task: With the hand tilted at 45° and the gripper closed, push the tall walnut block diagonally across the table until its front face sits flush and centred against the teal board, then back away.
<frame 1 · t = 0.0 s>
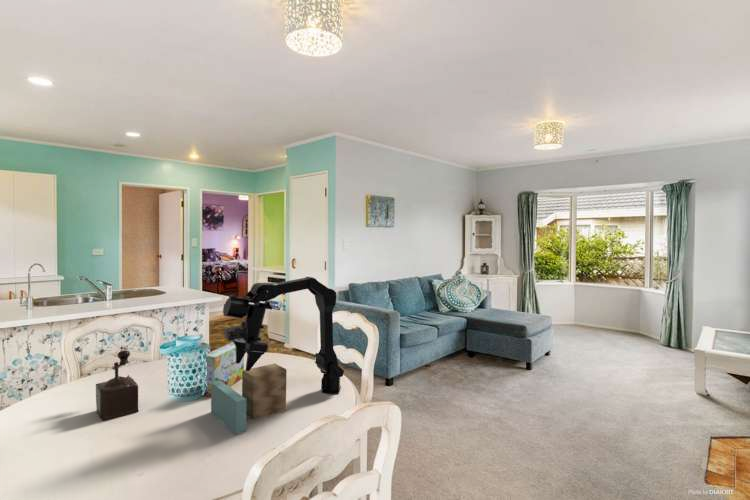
hand: (242, 367, 135), 15 cm above the table, tool pointing down, fingers open, 9 cm apart
pepper mill: (116, 409, 137), on the table
snack box: (224, 387, 159), on the table
teal board: (227, 421, 130), on the table
walnut block: (264, 410, 138), on the table
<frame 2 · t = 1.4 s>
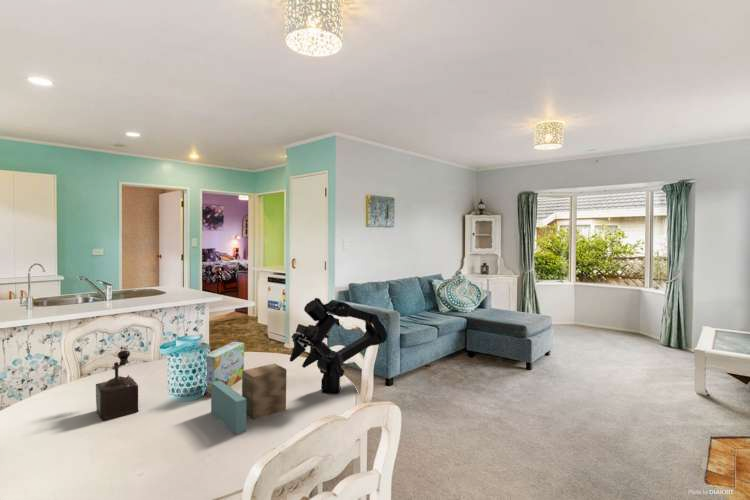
hand: (296, 364, 146), 13 cm above the table, tool tilted 45°, fingers open, 8 cm apart
nothing on the table moved.
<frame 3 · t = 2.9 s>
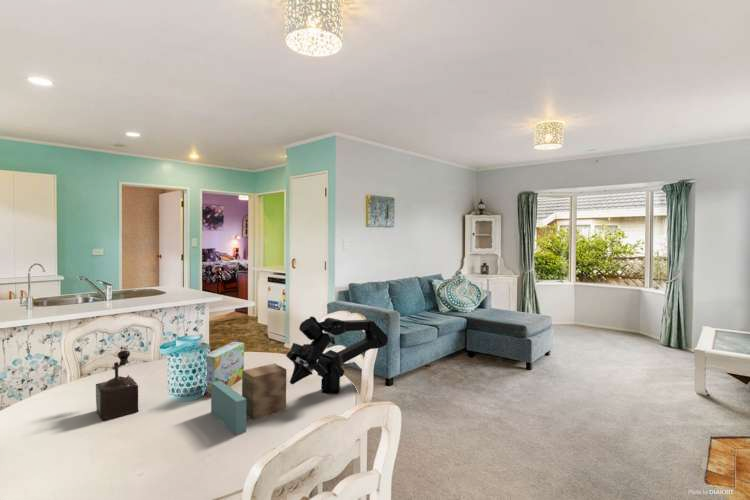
hand: (290, 383, 145), 7 cm above the table, tool tilted 45°, fingers closed
nothing on the table moved.
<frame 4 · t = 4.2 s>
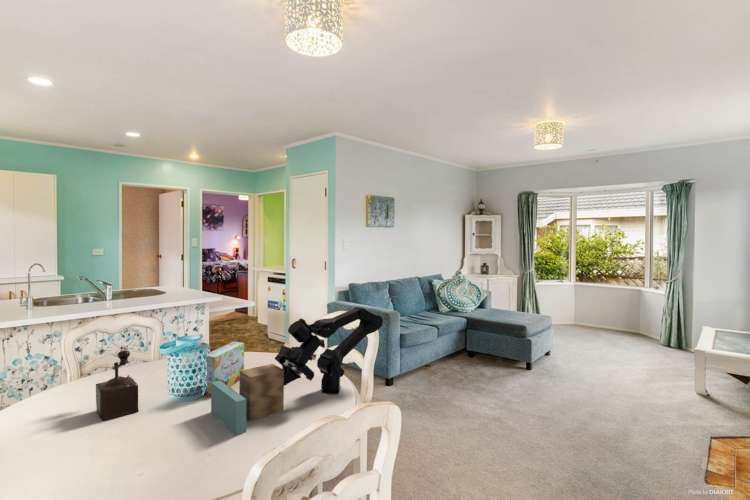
hand: (278, 387, 141), 7 cm above the table, tool tilted 45°, fingers closed, pressing on walnut block
walnut block: (261, 411, 137), on the table, touching gripper
everything else where it was.
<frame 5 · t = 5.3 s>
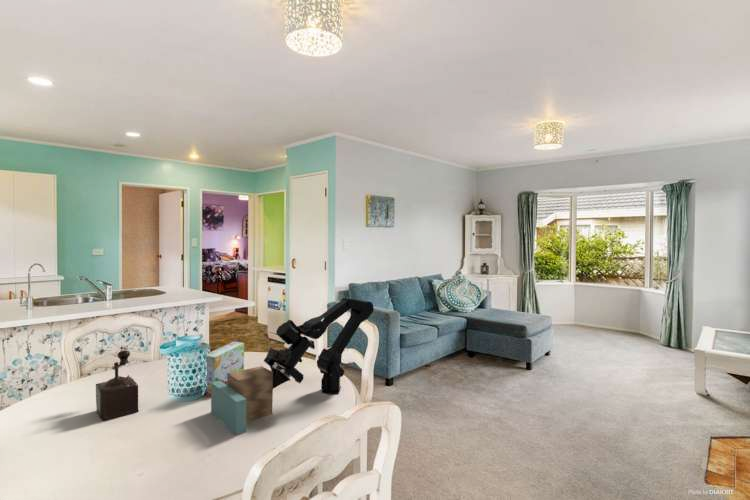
hand: (267, 390, 139), 7 cm above the table, tool tilted 45°, fingers closed, pressing on walnut block
walnut block: (249, 414, 135), on the table, touching gripper, teal board
everything else where it was.
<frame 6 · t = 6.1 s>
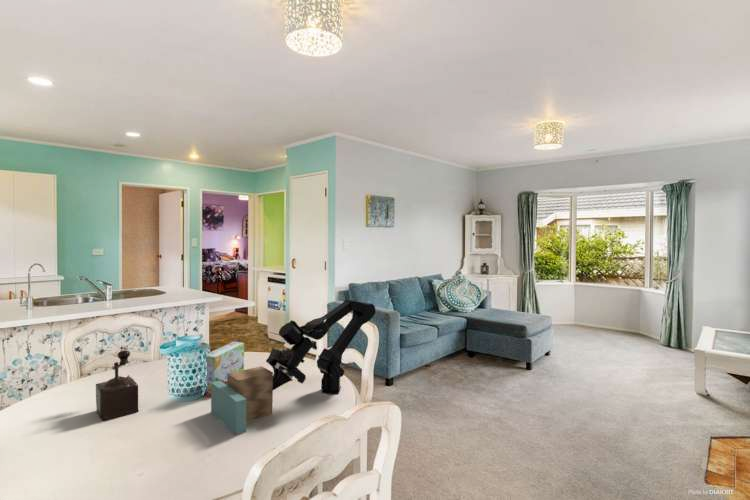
hand: (269, 390, 139), 6 cm above the table, tool tilted 45°, fingers closed
walnut block: (249, 414, 135), on the table
everything else where it was.
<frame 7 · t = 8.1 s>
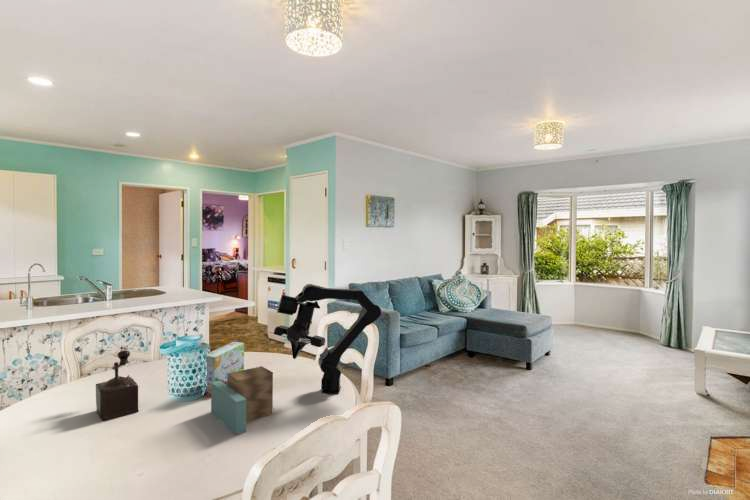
hand: (294, 358, 152), 13 cm above the table, tool pointing down, fingers closed
nothing on the table moved.
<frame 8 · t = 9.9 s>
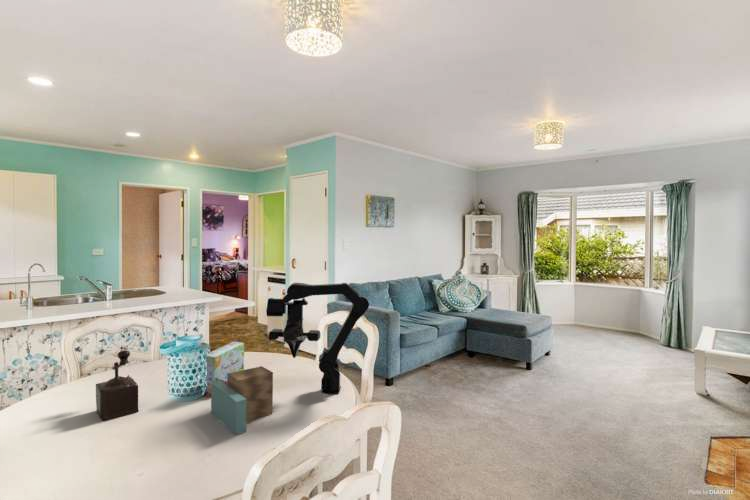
hand: (294, 357, 155), 13 cm above the table, tool pointing down, fingers closed
nothing on the table moved.
at the end: walnut block 7.5 cm from the teal board (horizontally); walnut block 0.2 cm from the target spot on the table beside the teal board, on the table; walnut block tilted 0° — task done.
